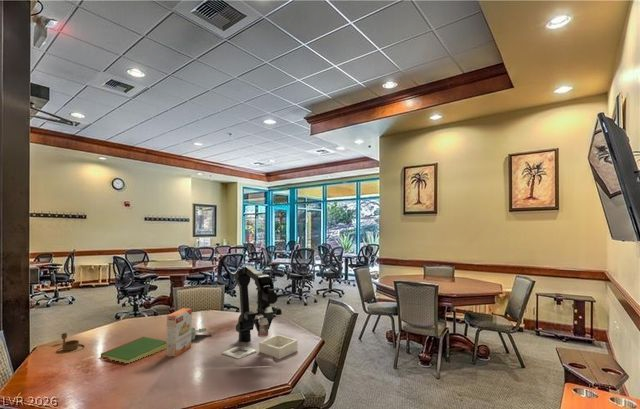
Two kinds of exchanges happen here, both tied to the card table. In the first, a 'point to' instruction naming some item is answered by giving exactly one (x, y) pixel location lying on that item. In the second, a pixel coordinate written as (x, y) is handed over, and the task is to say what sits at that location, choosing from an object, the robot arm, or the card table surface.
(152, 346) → the hardcover book
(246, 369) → the card table surface
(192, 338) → the metal bracket
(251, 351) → the socket block
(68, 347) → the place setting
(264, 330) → the pill bottle
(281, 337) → the bin
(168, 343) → the cracker box
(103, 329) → the card table surface
